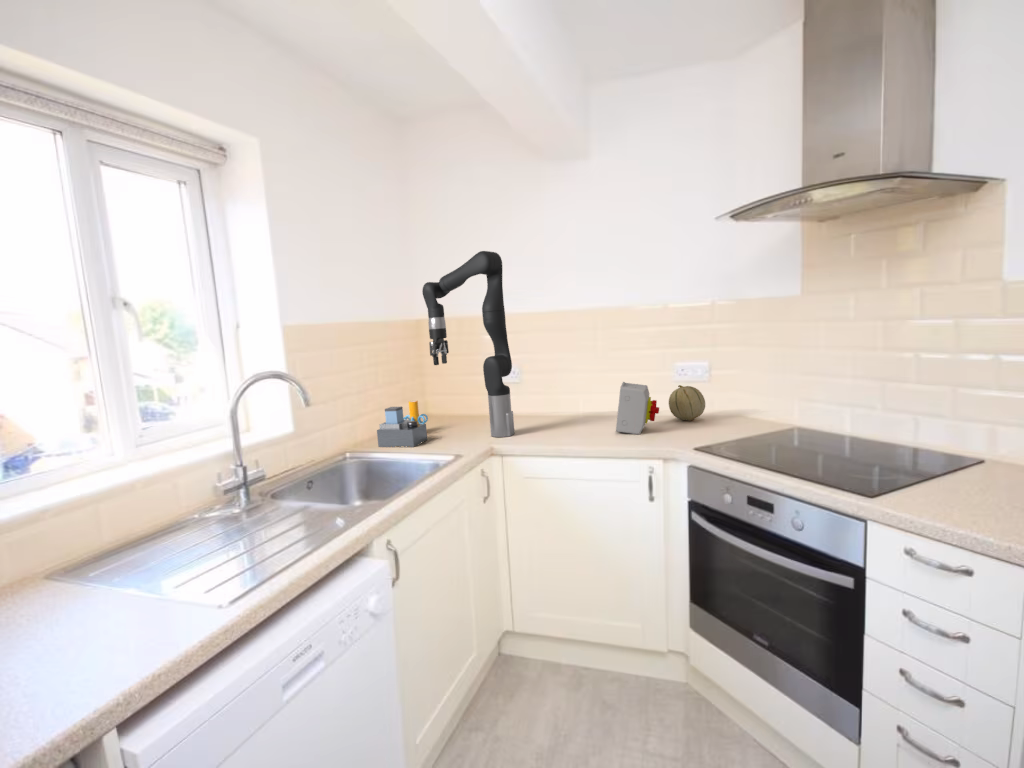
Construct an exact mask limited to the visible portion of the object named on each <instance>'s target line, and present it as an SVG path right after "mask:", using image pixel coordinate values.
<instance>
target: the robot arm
mask: <svg viewBox="0 0 1024 768" xmlns="http://www.w3.org/2000/svg"><path fill="white" fill-rule="evenodd" d="M478 275H484V276H486V283H487V284H486V285H487V288H486V294H485V297H484V299H483V302H482V307H481V312H482V321H483V322H482V323H483V326H484V329H485V331H486V333H487V335H488V336H489V338H490V340H491V342H492V345H493V351H494V355H492V356H488V357H486V359H484V361H483V365H482V368H483V369H482V370H483V379H484V386H485V389H486V391H487V402H488V413H489V427H490V436H491V437H493V438H503V437H504V438H505V437H512V436H513V435H514V434H515V421H514V412H513V410H512V402H511V399H512V398H511V389H510V386H509V385H505V383H504V381H503V378H505V377H508V376H509V375H510V374H511V372H512V368H513V363H512V357H511V351H510V346H509V342H508V331H507V324H506V322H507V321H506V310H505V303H504V290H503V287H504V286H503V260H502V258H501V256H500V254H499V253H498V252H496V251H495V252H494V251H490V250H489V251H488V250H480V251H479V252H477V253H475V255H472V256H471V257H470V258H469V259H468V260H467V261H466V262H464V264H462V265H461V266H459V267H457V268H456V269H454V270H452V271H450V272H449V273H447V274H445V275H443V276H441V277H440V278H439V282H435V281H428V282H426V283H424V285H423V286H422V289H421V290H422V297H423V299H424V302H425V305H426V309H427V313H428V314H427V317H428V333H429V339H430V340H432V341H429V343H428V344H429V355H430V357H432V359H433V360H432V361H433V366H439V365H440V360H439V353H440V354H441V364H443V365H444V364H447V363H448V360H447V359H448V357H447V355H448V354H449V352H450V351H449V344H448V340H447V339H446V338H447V337H448V336H447V335H448V334H447V325H446V319H445V308H444V305H443V304H441V303H439V302H438V300H437V299H442V298H444V297H446V296H447V295H449V294H450V293H451V291H454V290H456V289H458V288H460V287H461V286H462V285H464V284H465V283H466V282H467V280H468V279H470V278H472V277H474V276H475V277H476V276H478Z"/></svg>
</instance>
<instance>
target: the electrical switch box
mask: <svg viewBox="0 0 1024 768" xmlns="http://www.w3.org/2000/svg"><path fill="white" fill-rule="evenodd" d="M651 399H652V397H651V396H650V392H649V387H648V385H646V384H639V383H633V382H632V383H630V382H625V381H622V383H621V386H620V389H619V399H618V407H617V417H616V425H615V432H618V433H624V434H633V435H641V433H642V432H643V430H644V427H645V425H647V424H648V421H650V422H655V420H656V414H657V415H658V414H659V413H660V407H659V406H657V402H658V401H657V399H653V400H651Z"/></svg>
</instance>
